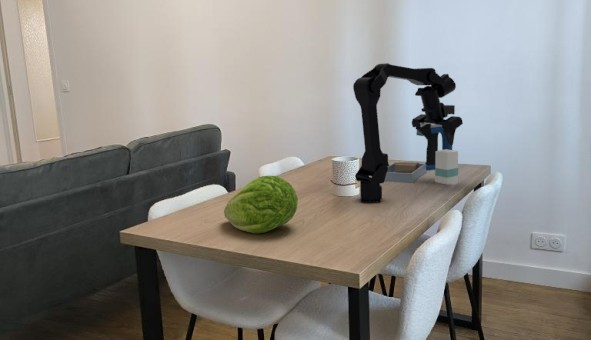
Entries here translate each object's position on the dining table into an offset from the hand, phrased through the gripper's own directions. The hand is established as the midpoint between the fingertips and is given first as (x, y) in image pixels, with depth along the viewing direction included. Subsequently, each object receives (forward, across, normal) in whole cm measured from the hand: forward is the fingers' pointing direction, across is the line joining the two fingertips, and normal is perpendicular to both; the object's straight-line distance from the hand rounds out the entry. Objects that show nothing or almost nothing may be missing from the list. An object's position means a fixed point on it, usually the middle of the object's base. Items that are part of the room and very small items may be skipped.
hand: (441, 143), depth 180 cm
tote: (+14, +18, +6) cm, 23 cm away
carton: (+15, 0, +2) cm, 15 cm away
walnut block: (+14, +21, +2) cm, 25 cm away
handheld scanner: (+20, +21, -13) cm, 32 cm away
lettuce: (-10, -2, +76) cm, 77 cm away
